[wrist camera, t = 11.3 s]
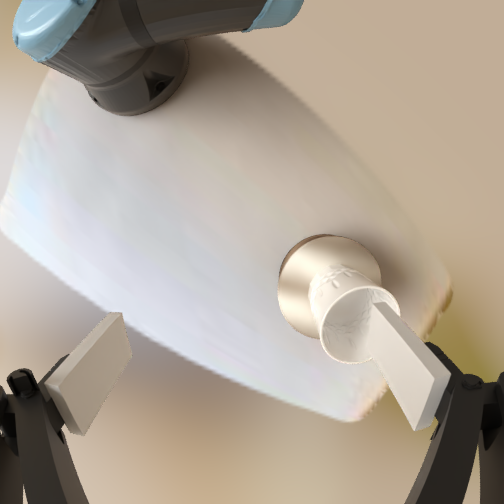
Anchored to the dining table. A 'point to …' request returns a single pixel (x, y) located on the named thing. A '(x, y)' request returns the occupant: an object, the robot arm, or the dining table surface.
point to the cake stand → (305, 268)
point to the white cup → (345, 311)
